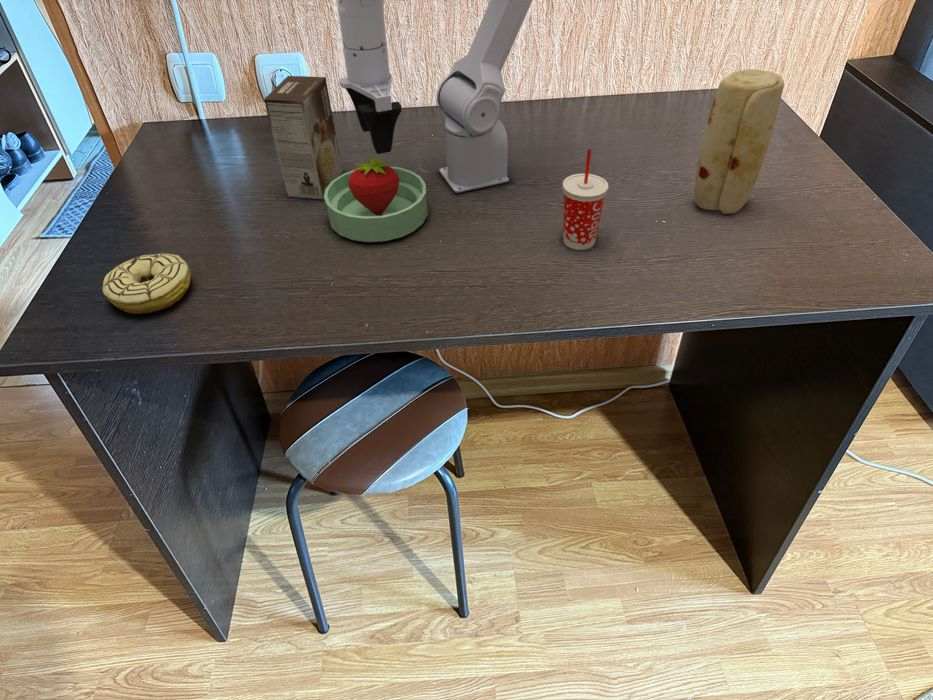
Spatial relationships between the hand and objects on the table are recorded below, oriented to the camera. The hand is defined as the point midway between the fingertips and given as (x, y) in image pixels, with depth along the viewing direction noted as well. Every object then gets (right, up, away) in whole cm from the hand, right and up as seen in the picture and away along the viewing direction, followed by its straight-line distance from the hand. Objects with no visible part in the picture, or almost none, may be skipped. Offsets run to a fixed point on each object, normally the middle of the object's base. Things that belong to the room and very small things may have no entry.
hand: (376, 140), depth 95 cm
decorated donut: (-29, -23, -8) cm, 38 cm away
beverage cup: (+29, -15, -1) cm, 33 cm away
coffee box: (-12, -4, +12) cm, 17 cm away
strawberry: (0, -10, +4) cm, 11 cm away
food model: (+52, -9, +5) cm, 53 cm away
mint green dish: (0, -10, +4) cm, 11 cm away
